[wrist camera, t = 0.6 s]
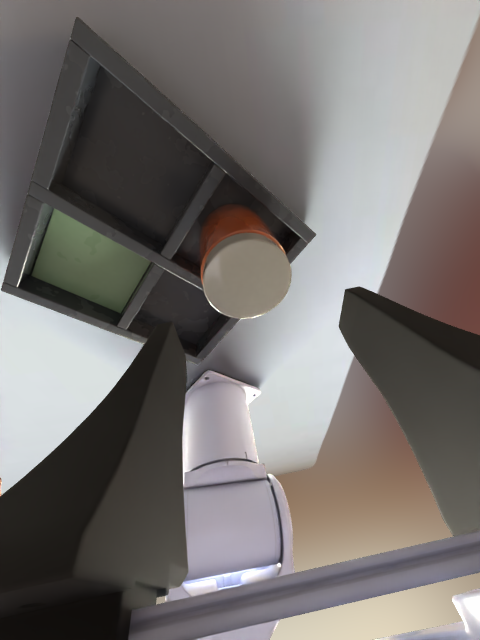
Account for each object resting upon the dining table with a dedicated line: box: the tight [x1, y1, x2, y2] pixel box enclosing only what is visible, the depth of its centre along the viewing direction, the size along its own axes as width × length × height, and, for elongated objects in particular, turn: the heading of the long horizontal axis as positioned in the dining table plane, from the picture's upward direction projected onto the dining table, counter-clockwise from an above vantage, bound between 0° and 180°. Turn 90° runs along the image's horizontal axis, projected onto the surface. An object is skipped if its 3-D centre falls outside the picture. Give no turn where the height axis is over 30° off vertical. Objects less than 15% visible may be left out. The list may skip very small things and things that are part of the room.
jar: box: [199, 203, 292, 319], centre depth 16 cm, size 5×5×6 cm
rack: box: [1, 17, 316, 365], centre depth 17 cm, size 15×15×2 cm
